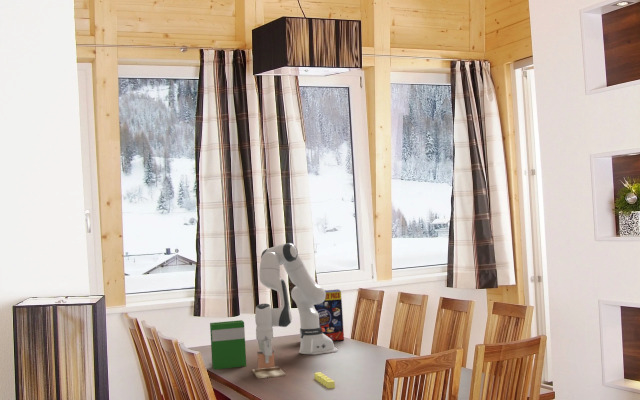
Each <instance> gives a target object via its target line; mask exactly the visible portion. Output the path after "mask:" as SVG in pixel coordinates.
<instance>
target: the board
mask: <svg viewBox="0 0 640 400" xmlns="http://www.w3.org/2000/svg"><path fill="white" fill-rule="evenodd" d="M251 371H252V373H253V374H254V376H255V377H256V378H257V379H258V378H259V379H266V378H267V377H268V378H278V377H285V376H286V373H285V372H284V371H283V370H282V369H281V367H280V366H275V367H271V368H261V369H259V368H252V370H251ZM268 378H267V379H268Z"/></svg>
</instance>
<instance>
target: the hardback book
mask: <svg viewBox="0 0 640 400" xmlns="http://www.w3.org/2000/svg"><path fill="white" fill-rule="evenodd" d="M209 327H210V328H209V330H210V345H211V349H210V350H211V365H212V366H211V367H212V368H213V370H222V369H223V370H224V369H230V368H231V369H232V368H242V367H241V366H243V367H247V352H246V349H247V348H246V332H245V331H246V330H245V321H244V320H243V319H239V320H230V321H217V322H210V323H209Z"/></svg>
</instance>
